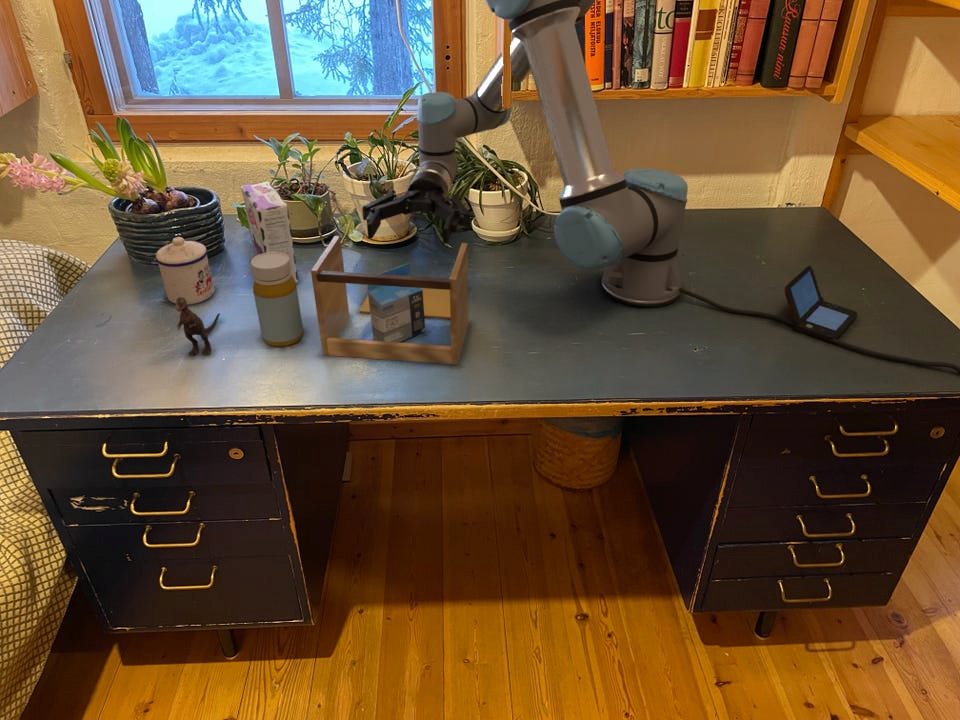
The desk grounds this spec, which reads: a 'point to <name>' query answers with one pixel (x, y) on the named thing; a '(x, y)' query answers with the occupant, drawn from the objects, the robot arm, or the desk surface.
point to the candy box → (269, 222)
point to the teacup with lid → (185, 271)
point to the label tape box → (396, 309)
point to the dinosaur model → (193, 327)
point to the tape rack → (333, 285)
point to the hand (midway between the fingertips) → (407, 233)
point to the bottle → (276, 299)
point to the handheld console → (815, 308)
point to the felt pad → (427, 303)
